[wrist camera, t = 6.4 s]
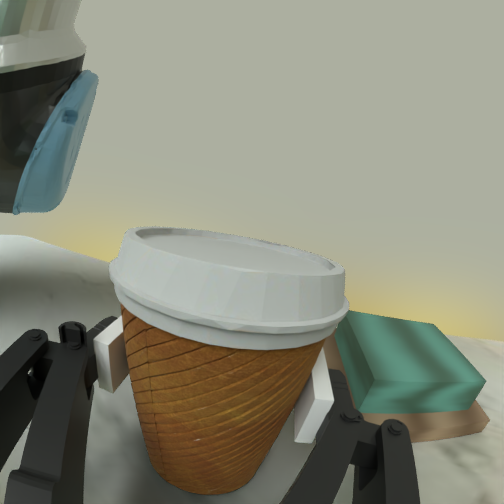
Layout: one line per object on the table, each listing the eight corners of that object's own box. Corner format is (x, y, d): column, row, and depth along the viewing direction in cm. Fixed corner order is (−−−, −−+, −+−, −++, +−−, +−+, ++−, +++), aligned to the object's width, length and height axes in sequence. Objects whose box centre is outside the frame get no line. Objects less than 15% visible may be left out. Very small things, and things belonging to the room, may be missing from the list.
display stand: (327, 443, 15) (353, 396, 14) (311, 335, 31) (322, 298, 30) (481, 431, 14) (508, 391, 13) (424, 351, 30) (438, 319, 29)
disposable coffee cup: (93, 483, 8) (55, 233, 7) (151, 390, 18) (165, 221, 16) (288, 529, 8) (404, 301, 6) (282, 418, 17) (328, 251, 16)
